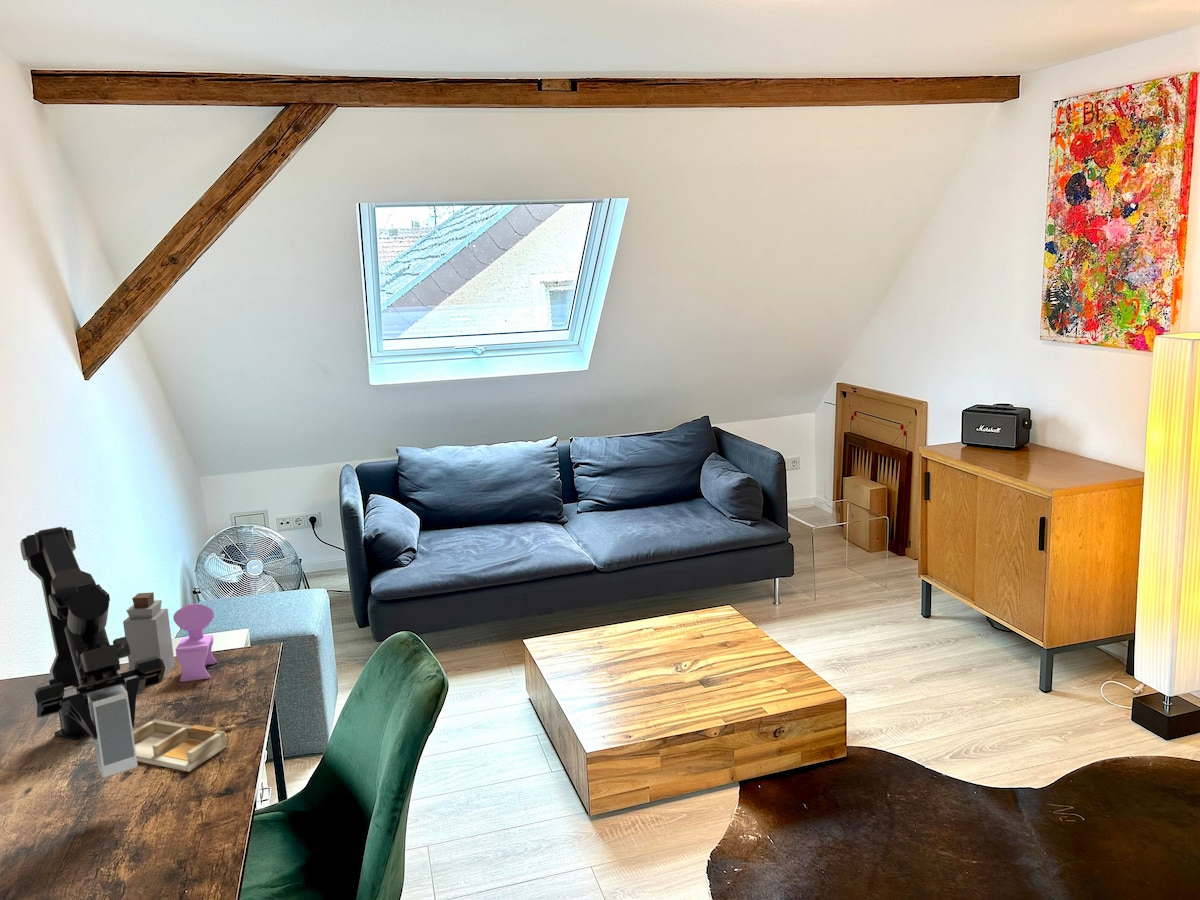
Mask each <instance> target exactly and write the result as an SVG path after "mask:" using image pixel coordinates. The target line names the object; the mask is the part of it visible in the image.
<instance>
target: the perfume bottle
mask: <svg viewBox="0 0 1200 900" xmlns="http://www.w3.org/2000/svg"><path fill="white" fill-rule="evenodd" d="M154 593H155V592H141V593H140V592H139V593H137V594H136V595H135V596H133V597H132V598H131V599H132V603H133V604H132V605H131V606H130V607H128V608H127V609H126V613H127V615H128V617H127V618H126V619H124V620H123V623H122V624H123V625H122V626H123V631H124V637H126V638H127V641H128V644H129V647H130V653H131V654H130V655H129V656H127V659H128V665H129V671H132V670H134V668H135V663H136V662H137V661H141V660H145V659H148V658H152V657H156V656H158V657H159V658H161V659H162V660H163V663H164V666H165V672H164V676H163V679H164V678H165V677H166V676H167V675H168V673H170V672H171V670H173V668H174V667H175V666H176V664H175V663H176V662H175V656H174V648H173V641H172V639H173V638H172V634H171V632H172V631H171V627H170V626H171V625H170V617H169V610H168V608H162V604H163V603H162V602H163V600H162V599H159V600H156V599H155V594H154Z"/></svg>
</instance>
